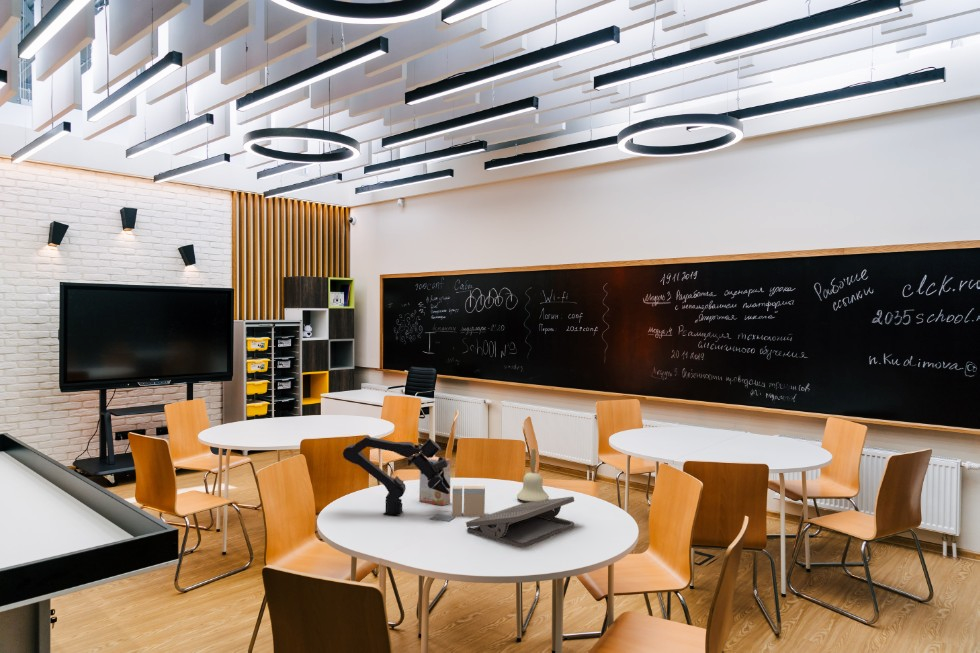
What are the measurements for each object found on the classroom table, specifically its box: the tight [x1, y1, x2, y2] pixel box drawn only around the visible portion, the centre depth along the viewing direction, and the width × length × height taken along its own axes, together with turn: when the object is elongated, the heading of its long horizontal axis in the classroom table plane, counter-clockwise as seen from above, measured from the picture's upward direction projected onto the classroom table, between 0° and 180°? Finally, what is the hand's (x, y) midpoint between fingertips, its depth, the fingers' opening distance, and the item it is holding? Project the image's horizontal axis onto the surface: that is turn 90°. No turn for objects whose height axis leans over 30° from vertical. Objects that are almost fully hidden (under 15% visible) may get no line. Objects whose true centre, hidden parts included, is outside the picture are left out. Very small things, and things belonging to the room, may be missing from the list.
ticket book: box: [463, 485, 486, 517], centre depth 277 cm, size 9×5×12 cm, turn 91°
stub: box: [451, 485, 463, 517], centre depth 277 cm, size 4×5×12 cm
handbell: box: [516, 447, 550, 502], centre depth 302 cm, size 15×15×25 cm
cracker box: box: [418, 455, 452, 507], centre depth 295 cm, size 14×6×21 cm, turn 58°
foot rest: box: [465, 496, 576, 549], centre depth 260 cm, size 39×30×13 cm
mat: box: [429, 513, 457, 523], centre depth 272 cm, size 9×7×1 cm
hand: (449, 490), depth 277 cm, fingers open, 9 cm apart
